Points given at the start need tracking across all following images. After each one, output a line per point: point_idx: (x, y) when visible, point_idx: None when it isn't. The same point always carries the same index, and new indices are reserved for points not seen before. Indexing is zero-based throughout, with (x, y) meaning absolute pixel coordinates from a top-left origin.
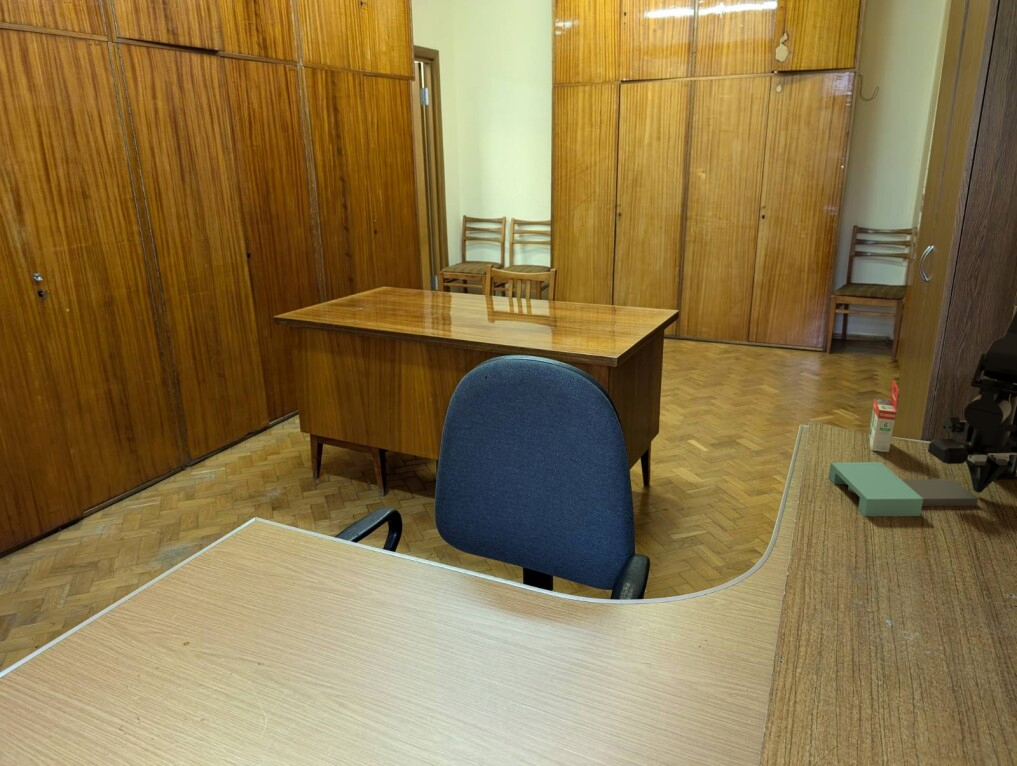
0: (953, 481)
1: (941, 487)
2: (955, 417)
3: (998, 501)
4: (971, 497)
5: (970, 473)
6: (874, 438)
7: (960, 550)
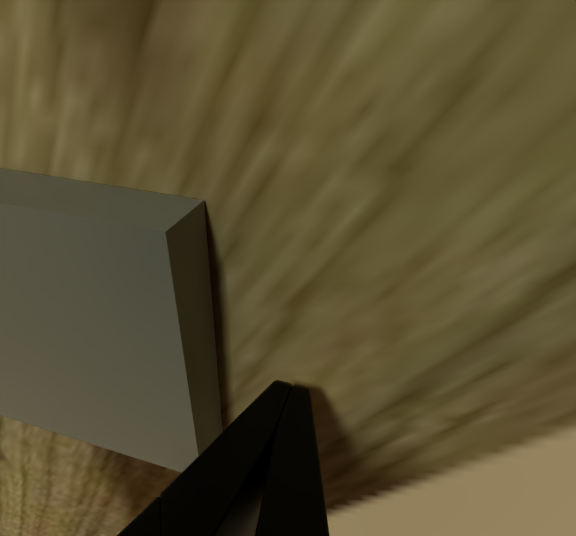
0: (151, 277)
1: (30, 333)
2: None
3: (394, 446)
4: (168, 461)
5: (151, 509)
6: None
7: (50, 529)
